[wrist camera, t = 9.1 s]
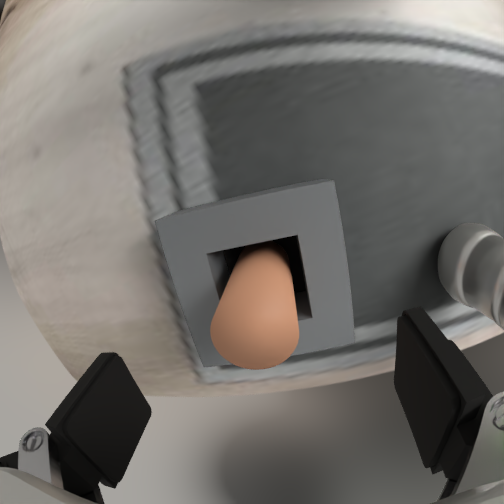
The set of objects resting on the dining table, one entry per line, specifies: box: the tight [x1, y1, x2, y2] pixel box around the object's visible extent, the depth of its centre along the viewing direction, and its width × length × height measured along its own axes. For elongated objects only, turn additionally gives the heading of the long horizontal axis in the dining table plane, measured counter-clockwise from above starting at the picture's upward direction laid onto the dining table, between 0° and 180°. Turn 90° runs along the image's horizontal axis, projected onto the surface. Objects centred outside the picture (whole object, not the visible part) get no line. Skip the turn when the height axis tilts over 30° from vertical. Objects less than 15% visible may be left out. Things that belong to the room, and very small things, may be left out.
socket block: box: [155, 179, 355, 367], centre depth 20 cm, size 11×11×4 cm
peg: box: [210, 241, 299, 369], centre depth 17 cm, size 4×4×10 cm
